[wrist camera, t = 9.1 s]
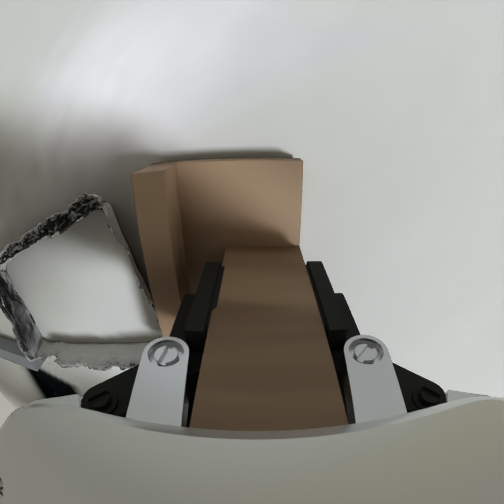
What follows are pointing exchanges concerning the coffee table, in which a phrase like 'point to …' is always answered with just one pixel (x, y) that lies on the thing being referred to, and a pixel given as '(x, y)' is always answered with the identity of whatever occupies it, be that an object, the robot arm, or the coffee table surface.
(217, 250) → the tan l-shaped bracket
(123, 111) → the coffee table surface
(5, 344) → the bay
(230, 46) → the coffee table surface
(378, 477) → the robot arm
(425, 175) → the coffee table surface
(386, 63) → the coffee table surface
